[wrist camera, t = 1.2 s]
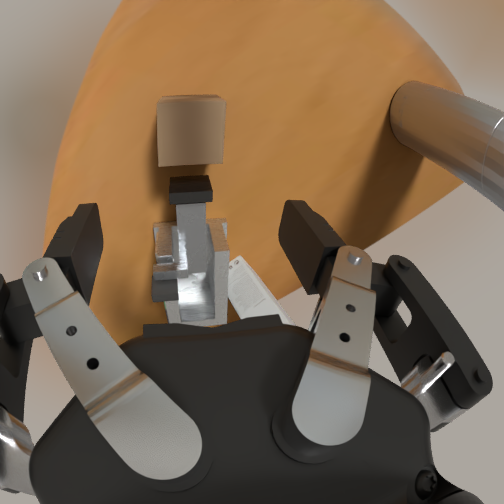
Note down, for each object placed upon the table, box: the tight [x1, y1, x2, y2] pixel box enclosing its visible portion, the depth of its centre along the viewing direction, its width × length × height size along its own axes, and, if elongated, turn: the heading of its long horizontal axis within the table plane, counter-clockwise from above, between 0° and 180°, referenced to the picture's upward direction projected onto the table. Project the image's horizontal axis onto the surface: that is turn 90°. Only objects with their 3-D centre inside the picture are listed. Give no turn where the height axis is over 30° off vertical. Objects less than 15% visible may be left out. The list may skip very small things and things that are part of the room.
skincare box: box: [228, 256, 296, 326], centre depth 33 cm, size 6×4×12 cm
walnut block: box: [157, 95, 226, 167], centre depth 21 cm, size 5×5×6 cm
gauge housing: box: [153, 218, 230, 326], centre depth 31 cm, size 8×11×6 cm
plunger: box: [153, 175, 213, 281], centre depth 25 cm, size 6×10×6 cm, turn 175°
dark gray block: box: [152, 276, 179, 302], centre depth 25 cm, size 2×1×3 cm, turn 85°
